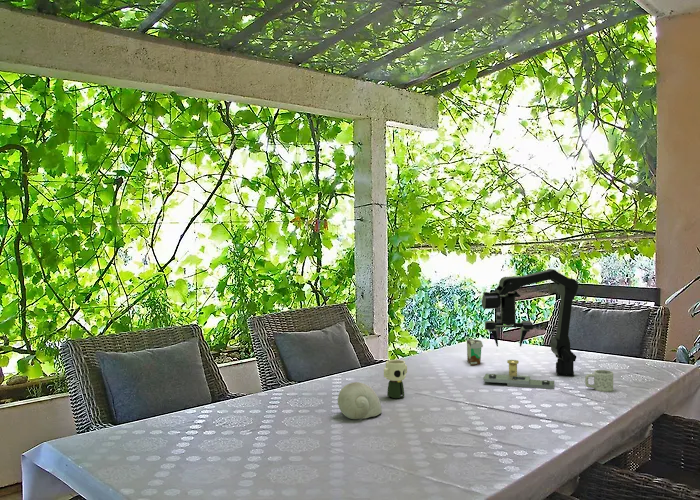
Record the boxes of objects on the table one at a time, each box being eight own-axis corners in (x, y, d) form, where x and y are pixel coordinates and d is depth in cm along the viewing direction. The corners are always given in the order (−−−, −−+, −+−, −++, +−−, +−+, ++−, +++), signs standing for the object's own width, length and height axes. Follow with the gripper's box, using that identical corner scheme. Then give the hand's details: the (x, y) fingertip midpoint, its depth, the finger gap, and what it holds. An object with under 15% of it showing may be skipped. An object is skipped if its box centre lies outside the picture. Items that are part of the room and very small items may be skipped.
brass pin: (519, 377, 267) (518, 360, 266) (518, 379, 262) (518, 362, 262) (507, 376, 268) (507, 359, 268) (506, 379, 264) (506, 361, 264)
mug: (610, 387, 248) (610, 370, 248) (615, 392, 242) (615, 374, 242) (582, 387, 249) (582, 369, 249) (587, 391, 243) (587, 373, 243)
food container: (485, 366, 287) (485, 343, 287) (471, 366, 288) (471, 343, 287) (480, 360, 300) (480, 338, 299) (466, 360, 300) (466, 338, 300)
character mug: (390, 402, 232) (390, 365, 232) (378, 397, 238) (377, 362, 237) (413, 396, 239) (413, 361, 238) (400, 392, 245) (400, 358, 244)
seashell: (338, 438, 215) (343, 409, 206) (331, 404, 226) (335, 375, 217) (383, 433, 219) (390, 404, 210) (373, 399, 229) (379, 370, 220)
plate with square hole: (554, 384, 254) (554, 375, 254) (553, 389, 247) (553, 380, 247) (486, 379, 263) (486, 372, 263) (483, 384, 255) (483, 376, 255)
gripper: (529, 305, 274) (529, 342, 275) (483, 305, 277) (484, 342, 277) (532, 308, 263) (533, 347, 264) (485, 309, 266) (485, 347, 266)
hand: (508, 346), depth 268 cm, fingers open, 9 cm apart
